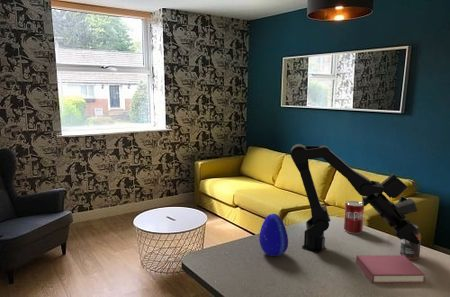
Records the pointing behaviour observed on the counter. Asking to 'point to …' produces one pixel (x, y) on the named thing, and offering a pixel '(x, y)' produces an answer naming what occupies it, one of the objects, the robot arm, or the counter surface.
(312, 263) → the counter surface
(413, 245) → the supplement bottle
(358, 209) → the soda can
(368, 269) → the hardcover book
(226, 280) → the counter surface
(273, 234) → the ornament
